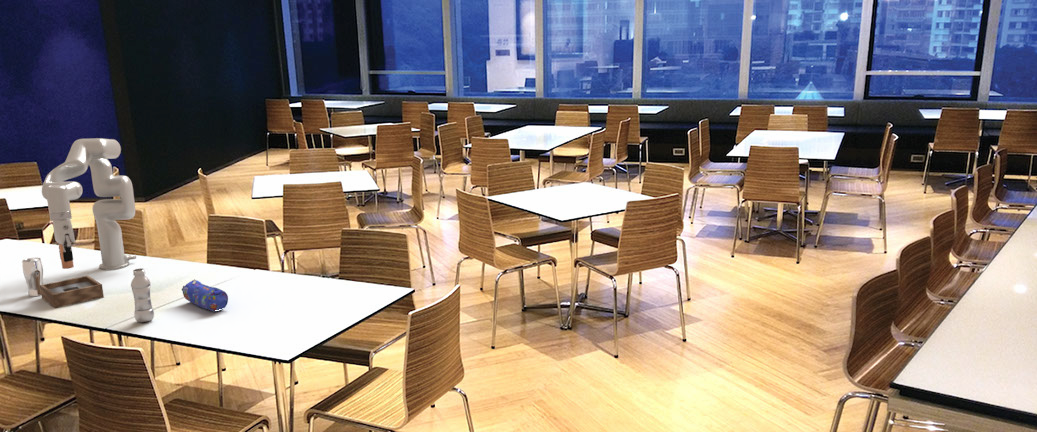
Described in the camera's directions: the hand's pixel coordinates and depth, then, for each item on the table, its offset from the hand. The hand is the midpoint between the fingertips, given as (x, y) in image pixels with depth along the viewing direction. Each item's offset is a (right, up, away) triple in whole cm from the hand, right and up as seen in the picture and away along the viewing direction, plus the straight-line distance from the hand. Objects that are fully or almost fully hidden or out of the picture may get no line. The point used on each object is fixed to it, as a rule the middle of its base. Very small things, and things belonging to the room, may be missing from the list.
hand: (66, 259), depth 316 cm
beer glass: (-17, -15, +9) cm, 25 cm away
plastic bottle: (+43, -22, -24) cm, 54 cm away
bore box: (0, -16, +4) cm, 16 cm away
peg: (0, -3, +1) cm, 3 cm away
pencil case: (+60, -18, -9) cm, 63 cm away
